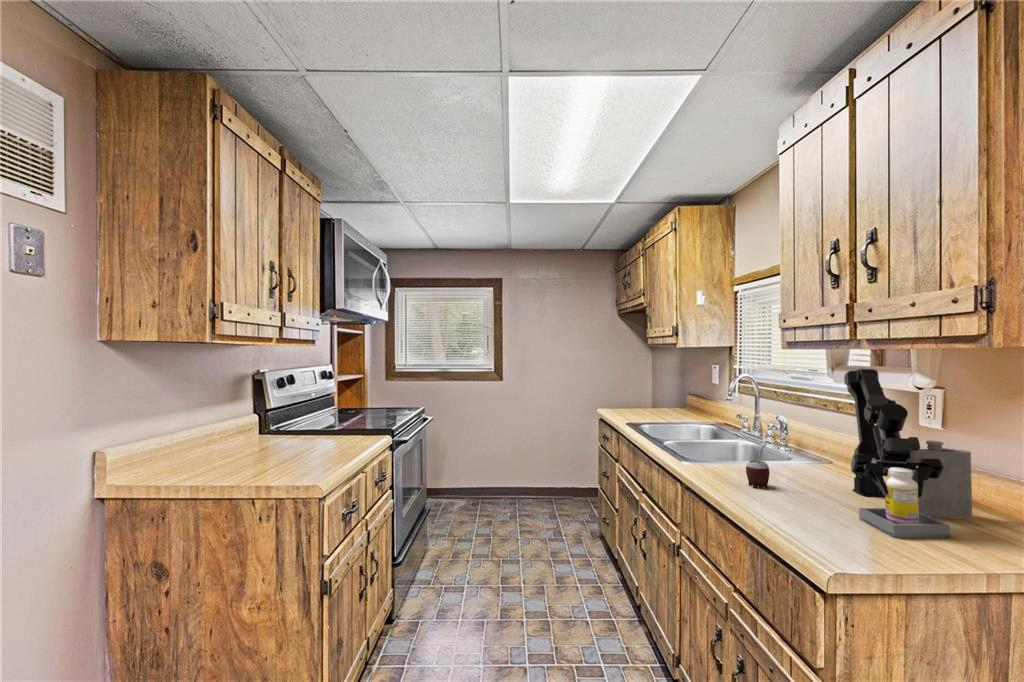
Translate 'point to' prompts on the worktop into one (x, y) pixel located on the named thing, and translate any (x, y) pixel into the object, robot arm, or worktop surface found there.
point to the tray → (904, 525)
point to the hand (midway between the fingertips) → (903, 495)
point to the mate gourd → (758, 472)
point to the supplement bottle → (902, 496)
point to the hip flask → (946, 482)
